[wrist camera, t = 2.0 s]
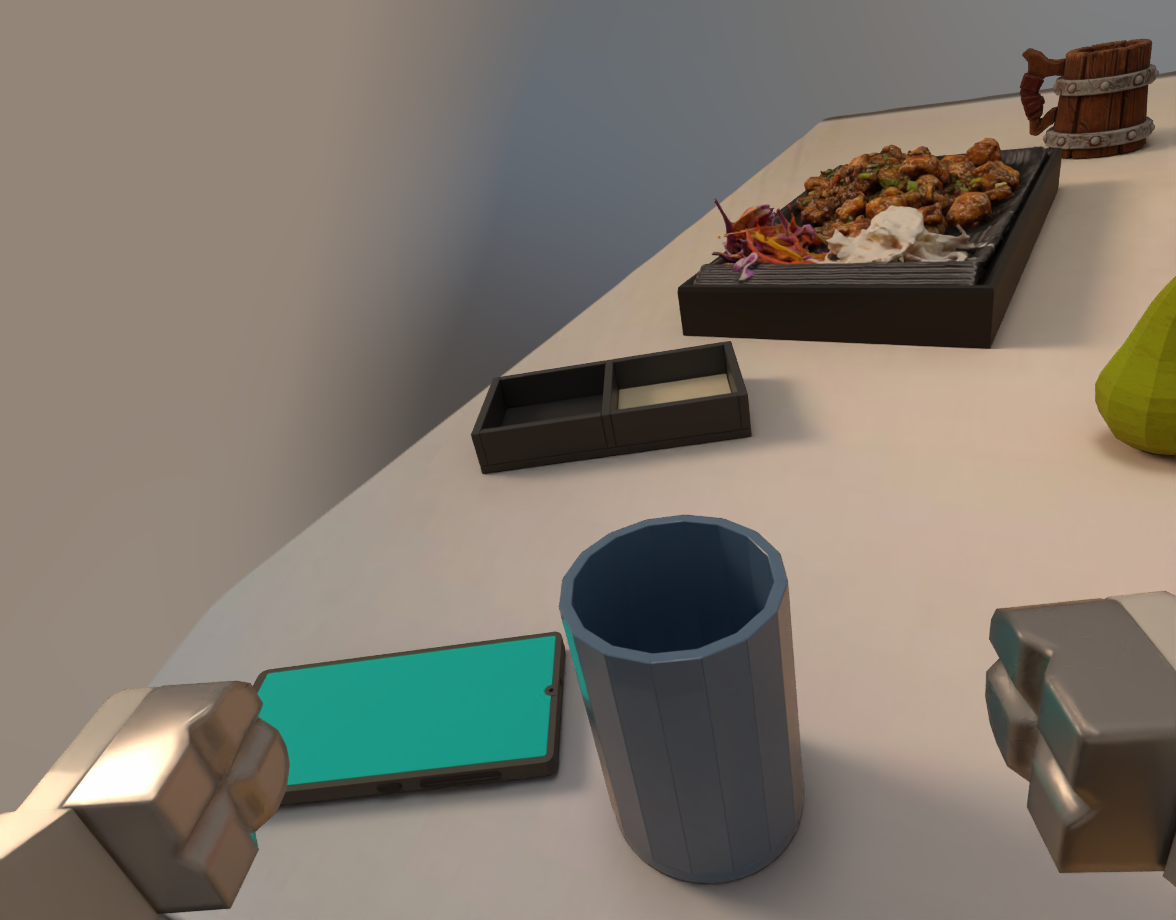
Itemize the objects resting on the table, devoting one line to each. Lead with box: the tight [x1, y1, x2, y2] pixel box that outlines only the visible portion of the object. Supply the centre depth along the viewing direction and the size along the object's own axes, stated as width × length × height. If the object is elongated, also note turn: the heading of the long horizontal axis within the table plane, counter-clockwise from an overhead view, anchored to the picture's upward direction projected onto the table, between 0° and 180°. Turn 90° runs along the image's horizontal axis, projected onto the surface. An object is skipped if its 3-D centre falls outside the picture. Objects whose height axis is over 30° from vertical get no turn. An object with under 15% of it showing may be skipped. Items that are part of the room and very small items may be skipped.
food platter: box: [678, 138, 1062, 348], centre depth 74 cm, size 45×25×10 cm, turn 147°
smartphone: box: [253, 632, 565, 805], centre depth 33 cm, size 7×1×15 cm
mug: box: [1020, 39, 1159, 159], centre depth 95 cm, size 12×14×15 cm
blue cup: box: [559, 515, 804, 883], centre depth 25 cm, size 7×7×10 cm
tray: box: [471, 341, 751, 473], centre depth 54 cm, size 18×10×3 cm, turn 87°
